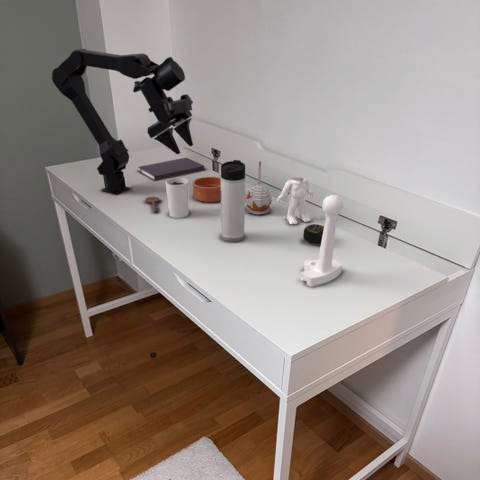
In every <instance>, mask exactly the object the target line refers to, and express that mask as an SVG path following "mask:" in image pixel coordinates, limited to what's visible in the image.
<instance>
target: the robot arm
mask: <svg viewBox="0 0 480 480" xmlns="http://www.w3.org/2000/svg"><path fill="white" fill-rule="evenodd" d="M88 67H89V68H90V67H91V68H98V69H103V70H110V71H114V72H115V71H116V72H118V73H120V74H121V75H123V76H125V77H128V78H131V79H134V80H135V79H136V81H134V82H133V84H134V85H133V90H132V92H133V93H137V92H138V93H139V92H141V94H142V95H143V97H144V99H145V101H146V103H147V104H148V106H149V108H148V109H147V110H148V112H149V113H153V115H154V117H155V118H156V120H157V121H156V122H154V123H152V124H151V125H150V126H149V127H147V132H146V133H147V134H148V136H149V138H150V139H154V141H157V142H159V143H160V144H162V145H163V146H165V147H166V148H167V149H169V150H170V151H171V152H173V153H174V154H176V155H179V154H181V150H180V147H179V145H178V143H177V141H176V139H175V136H174V135H173V132H174V131H175V133H176V134H177V135H178V136H179V137H180V138H181V139H182V140H183V141H184V142H185V143H186V144H187V145H188V146H189V147H193V146H194V143H193V138H192V134H191V128H190V124H191V121H192V117H193V113H192V112H191V111H193V107H192V104H193V103H194V101H193V100H192V98H191V97H190V96H189V94H188V93H185V94H182V95H180V98H179V99H176V100H174V99H173V97H172V96H167V94H166V92H165V91H167V92H170V91H171V90H173V89H175V88H176V87H177V86H178V85H180V84H181V83H183V82H184V81H185V80H186V75H185V71H184V70H183V68H182V67H181V65H179V64H178V62H176V61H175V60H174V59H173V57H172V56H169V57H166V58H165V60H163V61H162V62H161V63H160V64H158V63H156V62H155V61H153V60H151V59H150V57H149V55H147V54H146V53H143V52H142V53H129V54H117V53H108V52H101V51H95V50H88V49H86V48H79V49H74V50H72V52H71V53H70V54H69V56H68V57H67V58H66V59H65V60H63V61H62V62H61V63H60V64H59V65H58V67H55V68H54V69H52V73H51V81H52V84H53V85H54V86H55V87H56V89H57V90H58V91H59V93H60V94H61V95H63V96H64V97H65V98H67V99H68V100H70V101H71V102H72V104H73V106H74V107H75V110H76V111H77V112H78V114H79V115H80V117H81V118H82V120H83V122H84V123H85V125H86V127H87V129H88V130H89V131H90V133H91V135H92V136H93V138H94V140H95V141H96V143H97V145H98V149H99V150H98V151H99V156H100V158H101V162H100V164H99V165H98V167H96V169H97V171H98V174H99V175H100V176H102V178H103V185H104V187H103V188H101V192H106V193H109V194H112V195H118V194H120V193H122V192H126V191H127V190H129V189H130V188H129V186H126V178H125V176H124V174H125V173H124V171H123V170H126V168H127V164H128V163H129V162H130V154H129V149H128V148H127V147H126V146H125V143H124V142H123V140H122V139H119V140H117V139H115V138H114V137H113V136H112V135H111V133H110V131H109V130H108V128H107V127H106V125H105V123H104V120H102V117H101V116H100V115H99V113H98V111H97V110H96V108H95V106H94V105H93V103H92V101H91V100H90V98H89V96H88V95H87V93H86V86H85V85H86V84H85V81H84V79H83V76H84V74H85V73H86V71H87V68H88ZM152 75H153V76H152ZM149 76H152V77H149ZM144 77H145V78H144ZM140 78H144V79H142V80H141V81H140V80H138V79H140ZM171 126H172V127H171Z"/></svg>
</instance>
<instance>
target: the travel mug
mask: <svg viewBox="0 0 480 480" xmlns="http://www.w3.org/2000/svg"><path fill="white" fill-rule="evenodd" d="M220 178H221V200H220V237H221V239H222V240H223V241H225V242H229V243H237V242H240V241H243V240H244V238H245V216H246V215H245V214H246V213H245V212H246V209H245V207H246V204H245V203H246V201H245V197H246V164H245V163H243V162H242V161H241V160H239V159H233V160H230V161H226V162H223V163H222V164H221V165H220Z"/></svg>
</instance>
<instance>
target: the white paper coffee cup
mask: <svg viewBox="0 0 480 480" xmlns="http://www.w3.org/2000/svg"><path fill="white" fill-rule="evenodd" d="M165 191H166V198H167V206H168V213H169V214H168V215H169V217H171V218H176V219H182V218H186V217H188V216H189V212H190V211H189V209H190V208H189V207H190V206H189V179H187V178H184V177H169V178H166V180H165Z"/></svg>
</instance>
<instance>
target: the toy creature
mask: <svg viewBox="0 0 480 480" xmlns="http://www.w3.org/2000/svg"><path fill="white" fill-rule="evenodd" d="M310 188H311V186H310V182H309V180H308V178H307V177H302V176H301V177H293V178H289V179H288V180H286V181H285V184H284V185H283V188H282V190H281V191H280V194H279V195H278V197H277V199H276V202H277V203H279V202H280V200H282V199H283V198H284V197H286V196H287V195H288V197H287V198H288V207H287V213H286V214H287V215H286V220H287V221H288V224H289V225H297V224H298V223H299V222H298V221H297V219H299V220H301V221H303V222H304V223H309V222H312V219H311V218H309V217H308V215H306V206H307V203H306V196H307V197H314V195H313V193H314V192H313V191H311V190H310ZM288 193H289V194H288ZM296 211H297V214H296ZM295 215H296V217H297V219H296V218H295Z"/></svg>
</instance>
